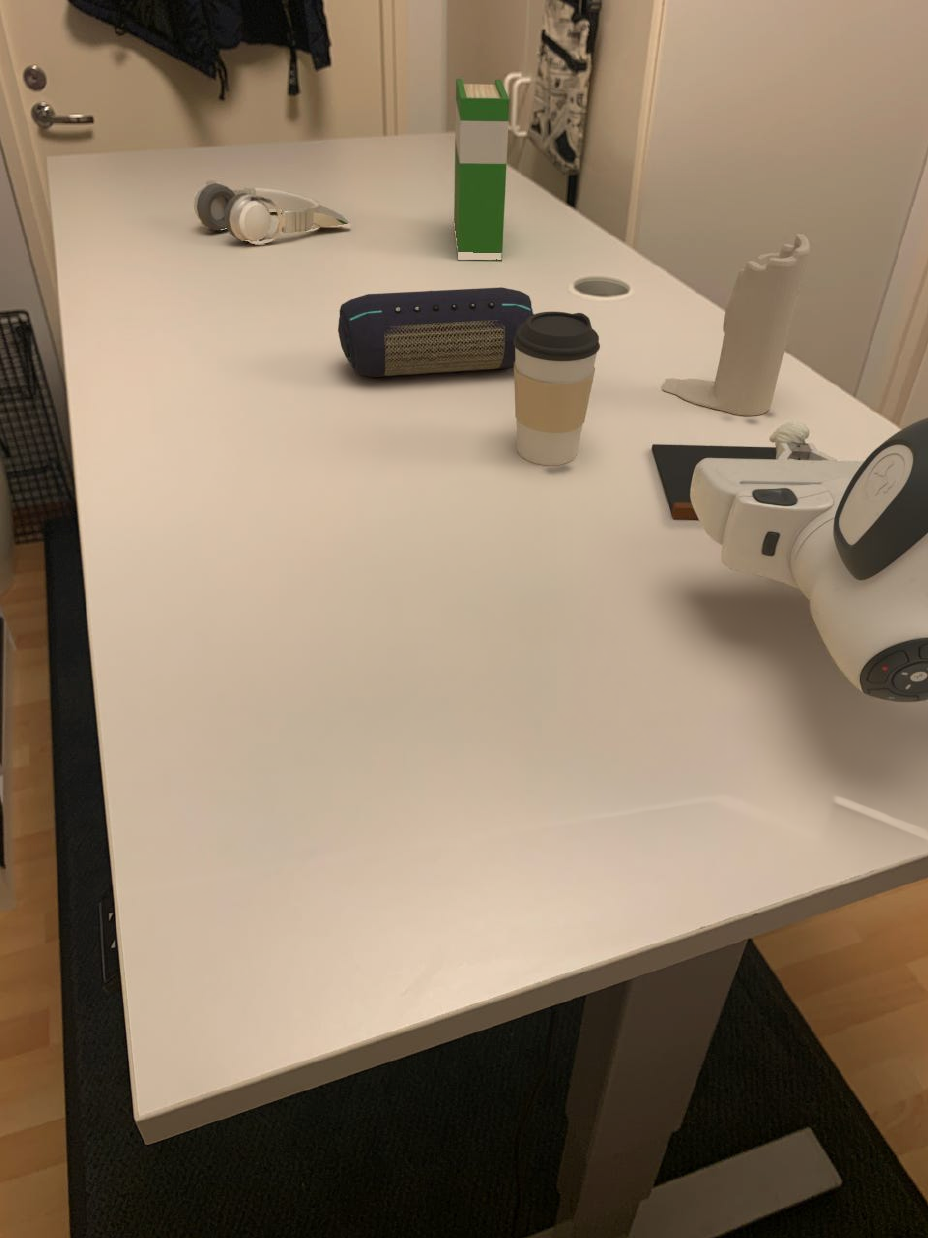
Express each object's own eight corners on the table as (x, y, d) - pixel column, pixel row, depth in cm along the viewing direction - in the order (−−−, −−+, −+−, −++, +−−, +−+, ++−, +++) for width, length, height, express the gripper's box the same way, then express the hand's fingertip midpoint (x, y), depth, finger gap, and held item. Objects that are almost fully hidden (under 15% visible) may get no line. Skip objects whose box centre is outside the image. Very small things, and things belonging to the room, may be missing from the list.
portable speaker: (346, 392, 113) (341, 313, 107) (338, 359, 120) (333, 283, 114) (540, 379, 117) (547, 301, 111) (521, 348, 125) (526, 274, 118)
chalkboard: (791, 452, 103) (795, 441, 103) (830, 523, 92) (834, 511, 91) (651, 448, 103) (653, 437, 103) (673, 519, 92) (675, 507, 91)
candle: (672, 373, 119) (700, 212, 107) (777, 398, 114) (819, 232, 101) (652, 393, 114) (679, 227, 102) (761, 421, 109) (804, 249, 97)
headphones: (252, 252, 152) (351, 242, 166) (251, 202, 148) (353, 196, 162) (178, 223, 163) (277, 216, 178) (175, 176, 159) (277, 173, 173)
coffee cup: (529, 476, 98) (540, 342, 88) (493, 439, 104) (499, 309, 95) (602, 461, 101) (619, 329, 91) (562, 425, 107) (575, 299, 98)
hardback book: (454, 229, 167) (456, 78, 151) (494, 229, 167) (500, 79, 152) (458, 260, 153) (460, 98, 138) (501, 260, 153) (509, 98, 138)
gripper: (991, 505, 68) (921, 420, 79) (720, 499, 68) (687, 415, 79) (961, 573, 72) (898, 483, 83) (704, 567, 72) (675, 478, 83)
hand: (793, 450), depth 81 cm, fingers closed
